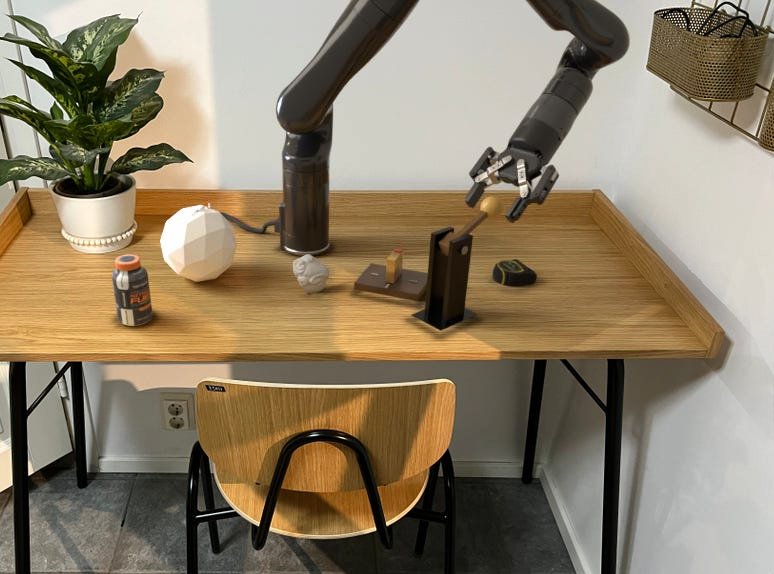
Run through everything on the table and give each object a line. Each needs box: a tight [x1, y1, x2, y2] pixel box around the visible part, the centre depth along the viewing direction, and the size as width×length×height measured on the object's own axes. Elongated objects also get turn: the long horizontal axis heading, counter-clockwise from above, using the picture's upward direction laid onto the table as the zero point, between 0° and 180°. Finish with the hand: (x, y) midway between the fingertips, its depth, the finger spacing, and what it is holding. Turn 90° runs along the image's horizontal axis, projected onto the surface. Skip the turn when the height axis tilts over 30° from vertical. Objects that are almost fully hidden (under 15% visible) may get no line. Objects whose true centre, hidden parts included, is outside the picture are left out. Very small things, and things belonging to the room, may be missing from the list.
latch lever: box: [439, 195, 504, 256], centre depth 125 cm, size 13×4×4 cm, turn 127°
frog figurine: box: [292, 254, 330, 295], centre depth 139 cm, size 6×7×7 cm
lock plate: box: [353, 262, 428, 302], centre depth 140 cm, size 12×9×3 cm
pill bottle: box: [111, 254, 154, 327], centre depth 130 cm, size 6×6×11 cm
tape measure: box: [491, 258, 538, 288], centre depth 142 cm, size 7×7×4 cm
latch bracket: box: [411, 225, 478, 332], centre depth 127 cm, size 9×7×16 cm
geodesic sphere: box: [159, 204, 237, 283], centre depth 144 cm, size 15×14×14 cm
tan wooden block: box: [385, 248, 404, 284], centre depth 139 cm, size 5×2×5 cm, turn 155°
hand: (488, 212), depth 127 cm, fingers open, 8 cm apart
